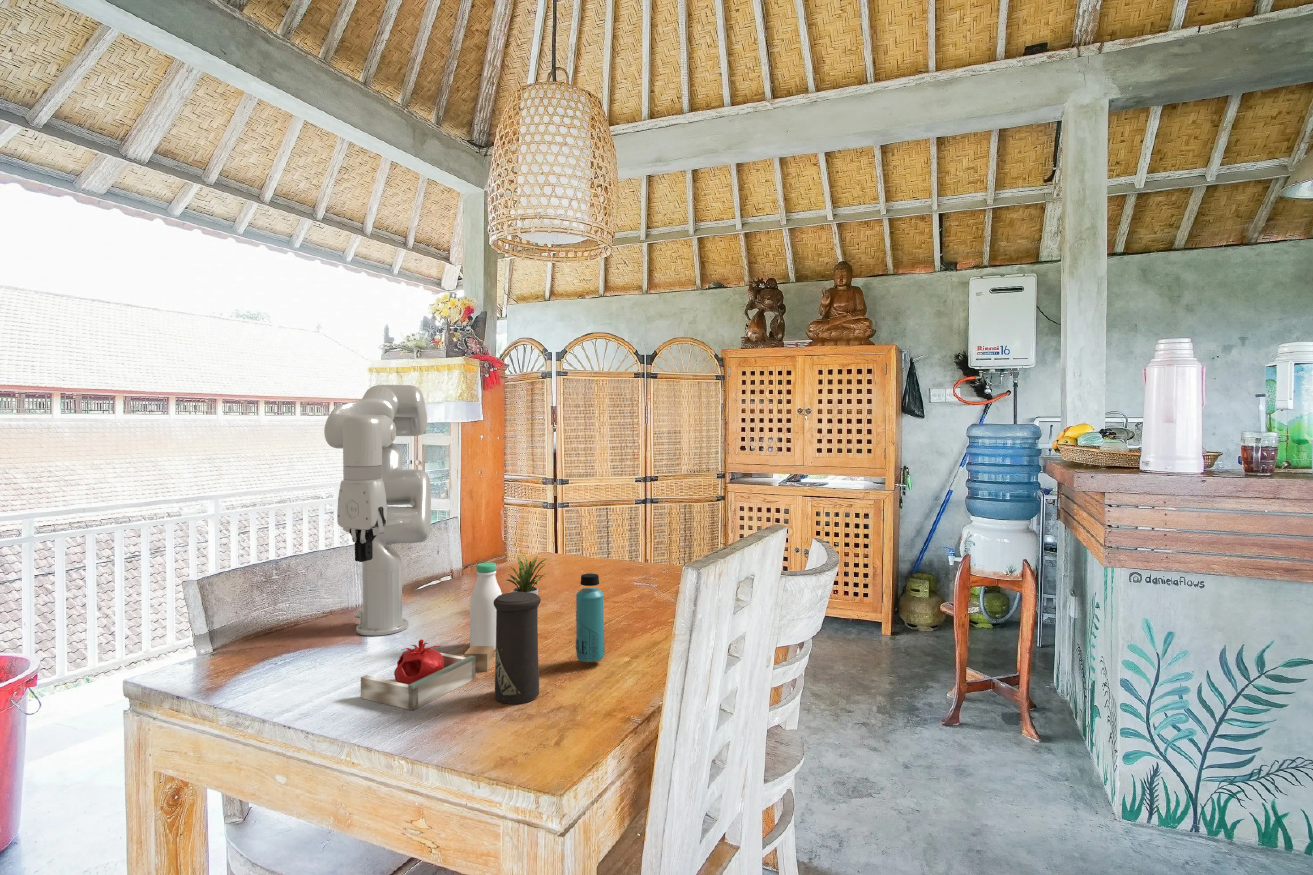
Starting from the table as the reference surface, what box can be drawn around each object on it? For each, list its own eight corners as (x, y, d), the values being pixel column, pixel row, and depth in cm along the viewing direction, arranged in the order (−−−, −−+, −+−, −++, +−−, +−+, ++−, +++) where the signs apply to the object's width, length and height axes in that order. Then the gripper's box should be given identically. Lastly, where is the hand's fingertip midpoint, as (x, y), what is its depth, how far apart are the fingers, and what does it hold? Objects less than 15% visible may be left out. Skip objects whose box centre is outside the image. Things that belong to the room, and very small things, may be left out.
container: (497, 687, 132) (497, 589, 131) (542, 686, 132) (542, 588, 132) (490, 705, 123) (489, 600, 123) (538, 704, 124) (538, 599, 124)
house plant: (565, 609, 189) (565, 552, 189) (532, 620, 177) (532, 560, 177) (529, 601, 197) (528, 547, 196) (494, 612, 185) (494, 555, 185)
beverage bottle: (609, 660, 147) (609, 572, 147) (597, 670, 141) (597, 578, 141) (583, 657, 149) (583, 569, 149) (570, 667, 143) (570, 576, 143)
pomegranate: (429, 672, 140) (430, 629, 141) (454, 684, 134) (454, 639, 134) (384, 685, 133) (385, 639, 133) (408, 698, 126) (408, 649, 127)
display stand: (360, 697, 127) (360, 674, 127) (426, 668, 142) (426, 647, 142) (413, 710, 121) (413, 685, 121) (475, 678, 137) (475, 656, 137)
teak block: (464, 672, 141) (464, 653, 141) (471, 663, 146) (471, 645, 146) (487, 672, 141) (487, 653, 141) (493, 663, 146) (493, 646, 146)
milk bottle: (494, 653, 152) (494, 567, 151) (463, 651, 153) (463, 566, 153) (508, 643, 159) (508, 561, 159) (479, 641, 161) (478, 560, 160)
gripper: (322, 474, 138) (323, 560, 138) (374, 477, 131) (375, 568, 132) (352, 471, 144) (353, 553, 145) (403, 474, 138) (403, 560, 139)
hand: (363, 560), depth 139 cm, fingers closed
